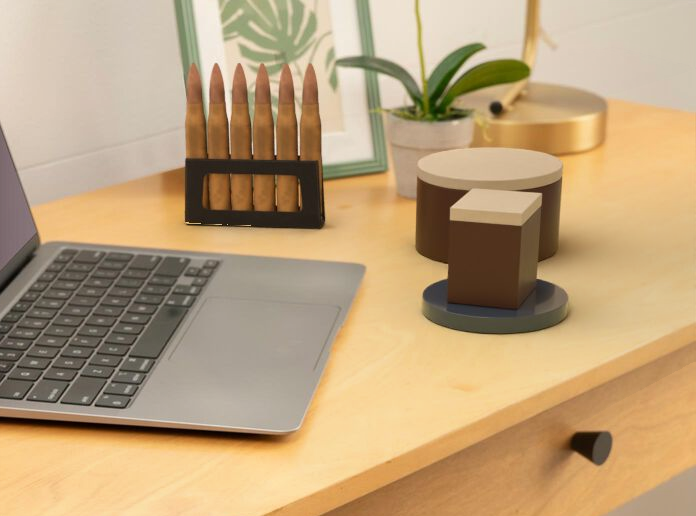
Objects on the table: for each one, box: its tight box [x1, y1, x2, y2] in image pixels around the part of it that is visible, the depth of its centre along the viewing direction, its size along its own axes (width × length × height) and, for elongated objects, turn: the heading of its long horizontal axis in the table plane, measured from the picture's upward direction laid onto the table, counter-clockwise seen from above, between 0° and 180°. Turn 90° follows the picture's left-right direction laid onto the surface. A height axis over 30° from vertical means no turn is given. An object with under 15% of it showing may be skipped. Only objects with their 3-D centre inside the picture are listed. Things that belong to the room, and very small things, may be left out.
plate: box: [421, 278, 569, 334], centre depth 94 cm, size 9×9×1 cm
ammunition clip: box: [184, 62, 326, 230], centre depth 112 cm, size 11×2×12 cm, turn 75°
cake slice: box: [447, 188, 542, 310], centre depth 92 cm, size 5×4×6 cm
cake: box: [414, 146, 564, 264], centre depth 106 cm, size 10×10×6 cm
